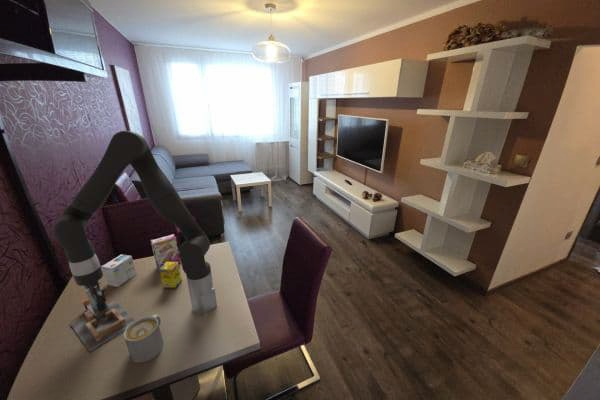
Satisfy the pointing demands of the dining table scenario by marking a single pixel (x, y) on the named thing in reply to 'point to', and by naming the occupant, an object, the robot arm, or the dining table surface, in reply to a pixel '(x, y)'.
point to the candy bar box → (165, 250)
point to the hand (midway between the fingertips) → (99, 306)
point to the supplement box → (170, 275)
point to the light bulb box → (119, 270)
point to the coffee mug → (144, 338)
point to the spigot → (94, 306)
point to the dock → (102, 326)
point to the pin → (89, 307)
